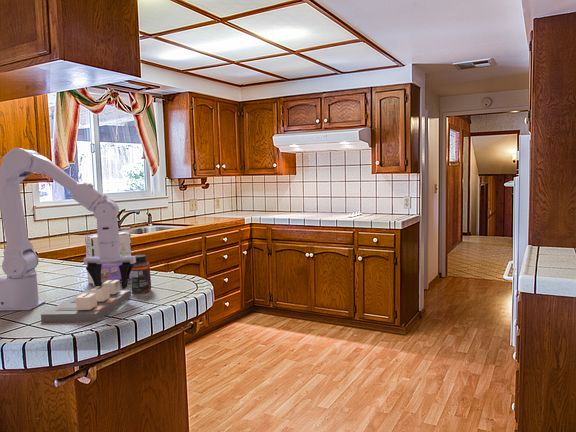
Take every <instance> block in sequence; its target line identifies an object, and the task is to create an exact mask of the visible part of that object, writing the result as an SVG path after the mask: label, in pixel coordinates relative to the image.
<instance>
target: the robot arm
mask: <svg viewBox="0 0 576 432" xmlns="http://www.w3.org/2000/svg"><path fill="white" fill-rule="evenodd" d="M33 173H34V174H40V175H45V176H46V177H48V178H50V179H51V180H52V181H54V182H56V183H57V184H59V185H60V186H62V187H63V188H65V189H66V190H68V191H69V192H70V194H71V199H72V200H74V201H75V202H76V203H78V204H79V205H81V206H82V207H84V208H85V209H86V210H88V211H89V212H93V216H94V218H95V219H96V233H97V234H96V235H97V236H98V250H99V256H97V257H86V256H85V257H84V258H83V259H82V260H83V265H84V266H86V267H85V270H86V271H88V272H89V274H90V275H91V277H92V279H93V282H94V284H95V286H94V288H95V287H97V286H102V283H101V267H102V264H122V265H120V266H119V269H120V273H121V281H120V282H121V290H126V289H127V288H128V283H129V280H130V279H129V275H130V272H131V270H132V268H133V265H134V263H136V256H135V255H132V256H121V255H120V245H119V232H120V231H119V225H118V224H119V223H118V222H119V221H118V217H117V216H118V214H119V212H120V211H119V205H118V203H116V202H115V200H114V199H109V198H108V197H109V196H108V195H106V194H102V193H101V192H100V191H99V190H97V189H95V188H94V187H95V185H93V184H92V183H87V182H86V181H85V182H78V181H77V180H75V178H72V176H71V175H69V174H68V173H67V172H66V171H64V170H63V169H62V168H61V167H59V166H58V165H57V164H55V163H54V161H51V160H50V159H49V158H47V157H46V156H44V155H42V154H40V153H39V152H37V151H36V150H33V149H24V148H20V147H15V148H12V149H10V150H9V151H8V152H6V154H5V155H3V156H2V157H1V164H0V214H1V219H2V224H3V229H4V237H5V242H6V245H5V247H4V249H3V260H2V263H1V269H2V271H3V273H4V276H1V277H0V311H2V312H3V311H31V310H33V309H34V308H36V307H38V306H40V305H43V304H45V303H46V300H39V299H40V298H39V289H38V287H39V285H38V275H37V271H36V268H37V266H38V265H39V261H40V260H39V256H38V255H37V253H36V252H35V250H34V247H33V246H34V245H33V243H32V242H31V241H30V239H29V237H28V230H27V225H26V218H25V213H24V208H23V202H22V195H21V189H20V184H22V182H23V181H24V180H25V179H26V178H27V177H28V176H29V175H31V174H33ZM111 261H116V262H111ZM87 265H88V266H87Z"/></svg>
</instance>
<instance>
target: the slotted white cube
mask: <svg viewBox="0 0 576 432" xmlns="http://www.w3.org/2000/svg"><path fill="white" fill-rule="evenodd" d="M95 306H97V297H96V293H84V294H81V295H79V296H78V297H76V310H90V309H92V308H94V307H95Z"/></svg>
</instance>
